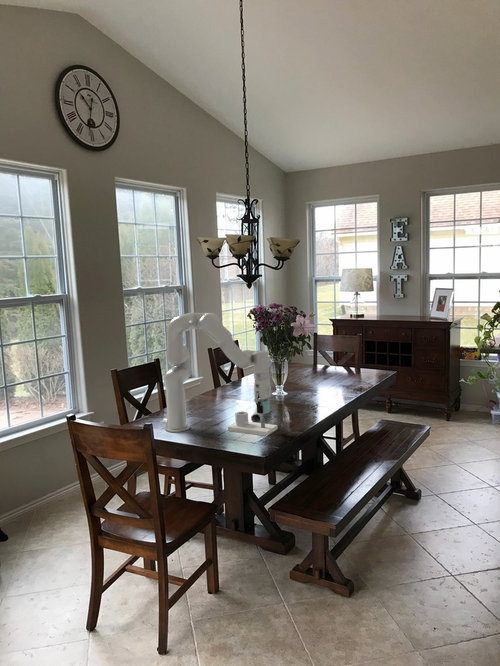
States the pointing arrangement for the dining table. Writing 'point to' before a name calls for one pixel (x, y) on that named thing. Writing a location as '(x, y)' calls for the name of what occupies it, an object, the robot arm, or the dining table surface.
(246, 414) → the sleeve grey
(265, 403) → the sleeve teal
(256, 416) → the tube
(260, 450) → the dining table surface
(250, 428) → the pin board
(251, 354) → the robot arm
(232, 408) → the dining table surface
